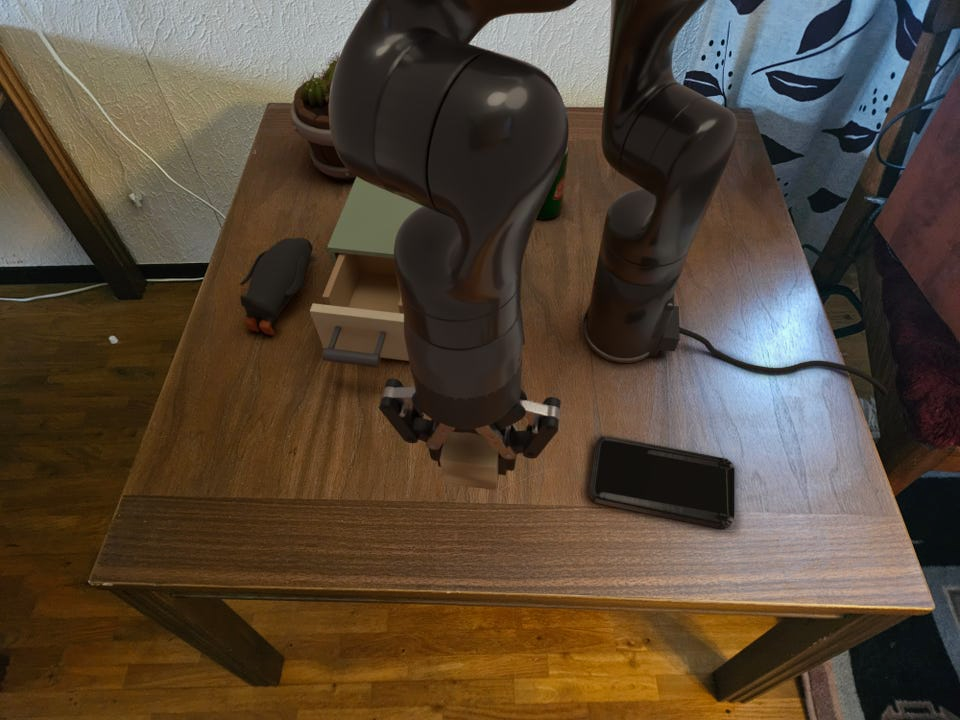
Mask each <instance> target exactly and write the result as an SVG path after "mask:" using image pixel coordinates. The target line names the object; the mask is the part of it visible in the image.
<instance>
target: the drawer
mask: <svg viewBox="0 0 960 720" xmlns="http://www.w3.org/2000/svg"><path fill="white" fill-rule="evenodd" d="M321 297H322V300H323V303H324V304H321V303H315V302H313V303H312V304H311V307H310V310H309V313H310V317H311V318H312V321H313V324H314V326H315V329H316V332H317V334H318V337H319V341H320V343H321V345H322V349H323V350H322V353H321V359H322V361H324V362H331V363H339V364H347V365H354V366H364V367H369V368H370V367H371V368H379V367H380V365H381V363H382V362H381V360H382V359H390V360H391V359H392V360H398V361H408V362H409V357H408V352H407V347H406V343H405V337H404V311H403V306H402V301H401V296H400V291H399V286H398V282H397V277H396V271H395V262H394V259H393V258H383V257H374V256H364V255H355V254H345V253H340V254H339V256H338V259H337V261H336V264H335V266H334V268H333V269H332V271H331V274H330V276H329V278H328V281H327V283H326V286H325V289H324V291H323V293H322V296H321Z"/></svg>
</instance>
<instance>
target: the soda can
mask: <svg viewBox="0 0 960 720" xmlns="http://www.w3.org/2000/svg"><path fill="white" fill-rule="evenodd" d="M569 150H570V148H569V145H568V144H567V148H566V152H565V155H564V158H563V161H562V163H561V166H560V169H559V171H558V174H557V176H556V178H555V180H554V182H553V184H552V187H551V189H550V191H549V193H548V195H547V197H546V199H545V201H544V203H543V205H542V207H541V209H540V211H539V214H538V216H537V218H536V219H540V220H551V219H553V218H555V217H557V216H558V215H560V213H561V212H562V210H563V202H564V195H565V194H564V193H565V185H566V178H567V177H566V176H567V168H568V159H569Z"/></svg>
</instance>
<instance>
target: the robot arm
mask: <svg viewBox="0 0 960 720" xmlns="http://www.w3.org/2000/svg"><path fill="white" fill-rule="evenodd" d="M708 1H709V0H610V22H609V23H610V25H609V27H610V28H609V52H608V61H607V71H606V79H605V90H604V99H603V109H602V118H601V133H600V134H601V135H600V136H601V138H600V139H601V150H602V154H603V156H604V158H605V160H606V162H607V163H608V164H609V166H610V167H611V168H612V169H613V170H614V171H615V172H617V173H618V174H619V175H620V176H622V177H624V178H626V179H628V180H629V181H631V182H632V183H633V184H635V185H637V186H639V187H640V188H636V189H632V190H629V191H626V192H624V193H622V194H621V195H619V196H618V197H616V198H615V199H614V200H613V201H612V203H611V204H610V206H609V207H608V209H607V212H606V216H605V219H604V224H603V230H602V234H601V241H600V244H599V251H598V257H597V261H596V266H595V272H594V278H593V283H592V288H591V293H590V294H591V295H590V299H589V304H588V307H587V309H586V312H585V314H584V317H583V324H584V327H583V336H584V339H585V341H586V344H587V345H588V347H589V348H590V349H591V350H592V352H594V353H595V354H596V355H598V356H599V357H601V358H603V359H605V360H607V361H610V362H612V363H618V364H632V363H637V362H641V361H643V360H644V359H646V358H648V357H653V358H655V357H658V355H659V351H667V352H672V353H673V352H674V353H675V351H676V349H677V347H678V345H679V342H680V339H681V337H680V336H681V335H683V336H686V337H689V338H691V339H693V340H696V341H698V342H699V343H701V344H702V345H704V346H705V347H706V349H707V351H709V352H710V353H711V354H712V355H713V356H715V357H717V358H718V359H721V360H723V361H725V362H726V363H729V364H732V365H734V366H736V367H739V368H741V369H746V370H748V371H749V370H750V371H753V372H759V373H764V374H765V373H766V374H773V375H776V374H777V375H778V374H788V373H792V372H796V371H799V370H802V369H807V368H812V367H824V368H831V369H836V370H840V371H843V372H846V371H847V372H846V373H849V374H852V375H855V376H857V377H859V378H861V379H863V380H865V381H867V382H868V383H869V384H870V385H872V386H873V387H875V389H877V391H879V393H880V394H881V395H883V396H884V397H888V396H889V395H890V394H889V391H888V389H886V387H885V386H884V385H883V384H882V383H881V382H880V381H879V380H878V379H876V378H875V377H873V376H871V375H870V374H868V373H867V372H864V371H862V370H860V369H858V368H854V367H852V366H849V365H845V364H841V363H837V362H833V361H827V360H807V361H803V362H799V363H796V364H793V365H789V366H784V367H768V366H761V365H757V364H752V363H748V362H745V361H741V360H738V359H736V358H734V357H732V356H729V355H727V354H725V353H724V352H722V351H720V350H717V349H716V348H715V347H714V346H713V344H712V343H711V342H710V341H709V340H708V339H707V338H705V337H704V336H702V335H700V334H698V333H696V332H694V331H691V330H688V329H686V328H684V327H681V326H680V305H675V291H676V288H677V286H678V283H679V280H680V277H681V275H682V272H683V269H684V265H685V263H686V260H687V257H688V254H689V251H690V248H691V245H692V243H693V240H694V239H695V236H696V235H697V233H698V231H699V229H700V227H701V225H702V223H703V221H704V219H705V217H706V215H707V213H708V210H709V207H710V205H711V203H712V200H713V198H714V194H715V192H716V190H717V188H718V185H719V183H720V180H721V179H722V177H723V174H724V172H725V170H726V168H727V166H728V163H729V160H730V158H731V156H732V153H733V150H734V147H735V144H736V140H737V137H738V120H737V117H736V114H735V113H734V112H733V111H732V110H731V109H729V108H727V107H726V106H724V105H722V104H720V103H718V102H717V101H714V100H712V99H711V98H709V97H707V96H704V95H703V94H701V93H699V92H697V91H696V90H694V89H692V88H690V87H687V86H685V85H684V84H682V83H680V82H679V81H677V79H676V78H675V75H674V73H673V57H674V49H675V44H676V41H677V38H678V37H677V36H678V35H679V33H680V32H681V30H682V28H684V26H686V25H687V23H688V22H689V21H690V20H691V18H693V17H694V16H695V15H696V14H697V12H698V11H699V10H700V9H701V8H702V7H703V6H704V5H706V3H707V2H708ZM576 2H578V0H370V1H369V2H368V4H367V6H366V7H365V9H364V11H363V12H362V13H361V15H360V16H359V19H358V21H357V22H356V24H355V25H354V27H353V29H352V30H351V32H350V34H349V36H348V38H347V40H346V42H345V43H344V45H343V47H342V50H341V53H340V54H339V58H338V59H339V60H338V62H337V65H336V68H335V71H334V75H333V79H332V83H331V88H330V97H329V125H330V132H331V136H332V141H333V144H334V147H335V149H336V152H337V154H338V156H339V158H340V160H341V161H342V163H343V164H344V166H345V167H346V168H347V169H348V170H349V171H350V172H351V173H352V174H354V175H355V176H357V177H358V178H360V179H362V180H363V181H365V182H367V183H370V184H372V185H374V186H376V187H379V188H381V189H384V190H386V191H388V192H391V193H393V194H396V195H398V196H400V197H403V198H405V199H408V200H410V201H412V202H415V203H417V204H419V205H422V207H421V208H419V209H417V210H416V211H414V212H413V213H412V214H411V215H410V216H409V217H408V218H407V219H406V220H405V221H404V222H403V223H402V225H401V226H400V228H399V230H398V233H397V236H396V239H395V245H394V262H395V271H396V277H397V282H398V286H399V291H400V296H401V301H402V306H403V311H404V337H405V343H406V347H407V352H408V357H409V361H408V363H409V366H410V371H411V377H412V380H413V386H405V385H404V384H403V383H402V381H401V380H399V379H397V378H393V377H391V378H387V379H386V382H385V385H384V388H383V392H382V394H381V395H382V396H381V399H380V403H379V406H378V409H379V411H381V413H382V414H383V416H384V417H385V418H386V420H387V421H388V422H389V423H390V425H391V426H392V427H393V428H394V429H395V431H396V432H397V434H399V436H400V437H401V438H402V440H403V441H404V442H406V443H409V444H417V443H418V441H421V442H424V443H425V447H426V448H427V449H428V452H429V458H430V459H431V460H432V461H433V462H436V463H437V467H439V468H441V464H440V456H441V451H442V447H443V443H446V441H447V439H448V438H449V436H450V434H451V433H452V432H459V433H465V432H469V433H473V434H477V435H482V436H483V438H484V439H485V440H486V442H487V443H488V445H489V446H490V448H491V449H497V451H498V452H499V456H498V474H499V475H500V476H507V472H508V471H511V472H513V471H514V470H515V469H516V463H517V455H520V454H522V456H523V457H524V458H526V459H530V460H531V459H537V458H538V457H539V456H540V454H542V452H543V451H544V449H545V448H546V447H547V446H548V444H549V443H550V442H551V441H552V439H553V438H554V437H555V435H556V434H557V433H558V432H559V425H560V415H561V405H562V401H561V399H560V398H558V397H555V396H550V397H549V396H548V397H546V398H545V399H544V401H542V403H540V402H537V401H533V400H529V399H528V396H527V394H526V392H525V391H524V390H523V389H522V373H523V372H522V371H523V348H524V346H525V343H526V338H525V329H524V319H523V312H522V307H521V299H522V273H523V272H522V271H523V261H524V257H525V254H526V251H527V248H528V243H529V241H530V237H531V234H532V233H533V228H534V226H535V223H536V222H537V221H536V220H537V219H538V218H537V216H538V214H539V211H540V209H541V207H542V205H543V203H544V201H545V199H546V197H547V195H548V193H549V191H550V189H551V187H552V184H553V182H554V180H555V178H556V176H557V174H558V171H559V169H560V166H561V163H562V161H563V158H564V155H565V152H566V148H567V145H568V142H569V129H570V128H569V118H568V112H567V108H566V106H565V103H564V99H563V97H562V94H561V92H560V91H559V89H558V86H557V85H556V83H555V82H554V81H553V80H552V79H553V78H551V77H550V76H549V75H548V74H547V72H545V71H544V70H543V69H541V68H539V67H538V66H536V65H534V64H532V63H530V62H528V61H525V60H521V59H519V58H516V57H513V56H510V55H506V54H503V53H500V52H497V51H493V50H490V49H487V48H483V47H481V46H477V45H473V44H471V42H472V41H473V40H474V38H475V37H476V36H477V35H478V34H479V33H480V32H481V31H482V30H483V28H485V26H487V25H488V24H489V23H490V22H491V21H493V20H495V19H498V18H500V17H503V16H509V15H525V14H526V15H527V14H546V13H555V12H560V11H562V10H563V11H564V10H565V9H568V8H569V7H571V6H573V5H574V4H575V3H576ZM680 334H681V335H680ZM424 416H427V417H428V418H430V419H427V418H424ZM524 418H526V419H527V420H528V423H527V425H526V427H525V430H520V429H519V427H518V426H517V424H516V423H518V422H520V421H522V420H523V419H524Z"/></svg>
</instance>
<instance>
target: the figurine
mask: <svg viewBox="0 0 960 720" xmlns="http://www.w3.org/2000/svg"><path fill="white" fill-rule="evenodd" d="M313 249H314V248H313V244H312V242H310V240H309V239H307V238H304V237H294V238H292V237H287V238H283V239H281V240H279V241H277V242H276V243H275V244H273V245H272V246H271V247H270V248H268V249H267V250H265V251H263V252H261V253H260V254H258V256H257V257H256V258H255V260H254V262H253V264H252V265H251V268H250V270H249V271H248V273H247V275H246V276H245V277H244V279H242V280H241V282H240V283H239V285H240V286H243V285H245V284H246V283H248V282H249V285H248V289H247V292H246V294H245V295H243V294H242V295H240V304H241V306H242V307H243V308H244V310H245V312H246V313H245V314H246V315H245V316H246V317H245V319H244V325H245V326H246V327H247V328H248V329H249V331H252V332H256V333H259V332H260V331H262V332H263V333H264V334H265V335H268V336H274V335H275V330H274V329H273V328H272V327H273V326H272V324H273V323H274V322H276V320H277V319H278V317H279V315H280V313H281V311H282V310H283V309H284V307H286V305H287V304H288V302H289V301H290V300H291V299H292V298H293V296H294V295H295V294H297V293H298V292H299V290H300V289H301V288H302V285H303V284H304V280H305V278H306V277H305V276H306V272H307V269H308V267H309V264H310V261H311V259H312V253H313ZM258 322H259V325H258Z"/></svg>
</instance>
